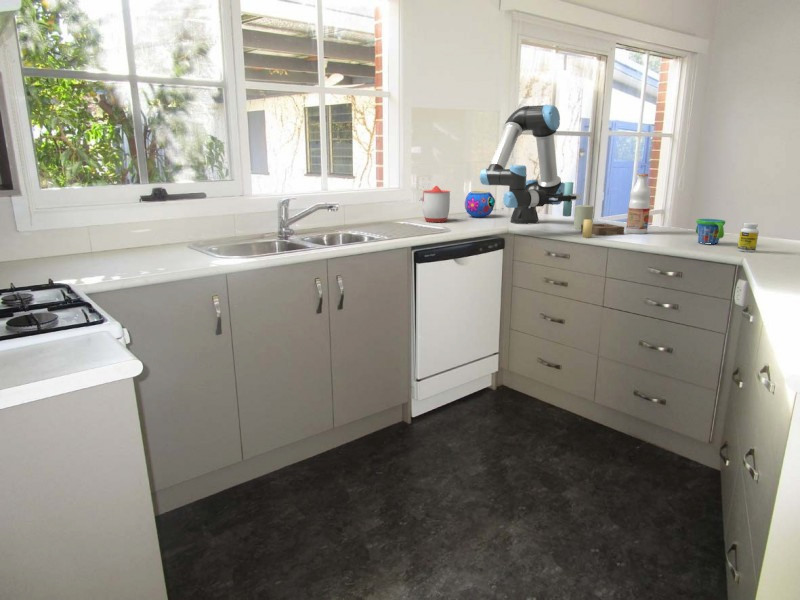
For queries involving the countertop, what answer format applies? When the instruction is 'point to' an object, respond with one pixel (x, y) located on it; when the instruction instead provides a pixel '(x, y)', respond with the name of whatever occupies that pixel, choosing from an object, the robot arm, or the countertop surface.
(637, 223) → the fruit juice
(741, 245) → the pill bottle
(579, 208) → the can
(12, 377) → the countertop surface
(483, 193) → the ceramic pot
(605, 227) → the walnut block
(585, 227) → the short dowel
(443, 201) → the citrus juicer
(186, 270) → the countertop surface
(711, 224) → the snack cup
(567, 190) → the tall dowel
